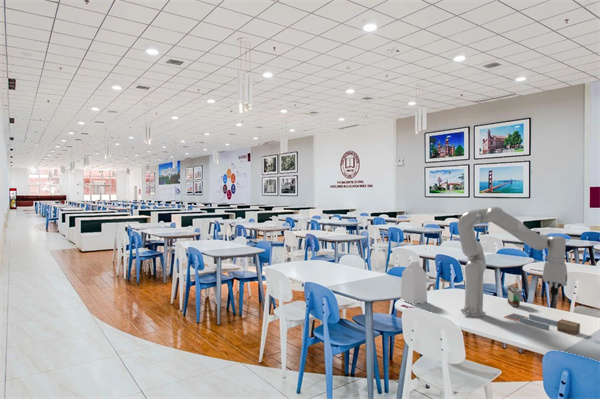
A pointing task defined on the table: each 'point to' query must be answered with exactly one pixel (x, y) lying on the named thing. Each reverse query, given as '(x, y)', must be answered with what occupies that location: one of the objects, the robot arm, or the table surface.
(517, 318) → the pad
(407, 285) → the milk
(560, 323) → the walnut block
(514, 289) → the food container
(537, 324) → the channel
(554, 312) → the table surface
